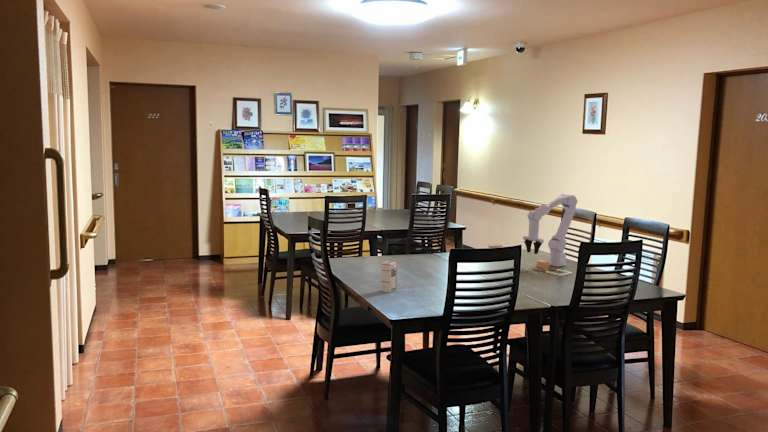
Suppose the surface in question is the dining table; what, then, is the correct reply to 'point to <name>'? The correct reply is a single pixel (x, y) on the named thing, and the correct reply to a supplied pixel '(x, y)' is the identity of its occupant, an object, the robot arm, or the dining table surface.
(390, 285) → the syrup box
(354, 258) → the dining table surface
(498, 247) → the supplement box
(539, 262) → the terracotta block
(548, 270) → the parallel wooden rails
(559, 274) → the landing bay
